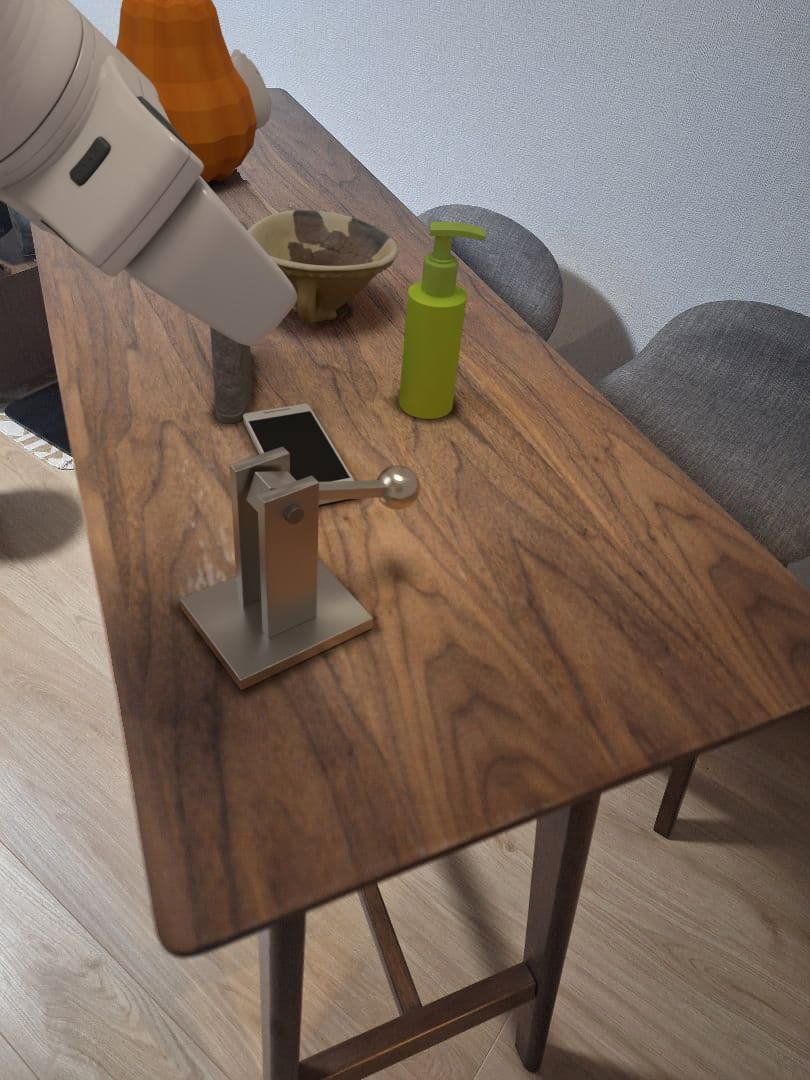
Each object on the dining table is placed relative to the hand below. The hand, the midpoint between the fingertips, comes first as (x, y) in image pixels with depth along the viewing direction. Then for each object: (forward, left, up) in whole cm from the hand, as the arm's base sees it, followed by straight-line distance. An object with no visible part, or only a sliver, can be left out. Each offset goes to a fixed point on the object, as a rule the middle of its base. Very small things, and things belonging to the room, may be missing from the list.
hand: (253, 289), depth 54 cm
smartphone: (+7, +22, -29) cm, 37 cm away
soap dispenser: (+23, +29, -29) cm, 47 cm away
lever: (+6, +2, -20) cm, 21 cm away
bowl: (+16, +52, -29) cm, 62 cm away
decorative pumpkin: (+4, +99, -29) cm, 103 cm away
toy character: (+17, +121, -29) cm, 125 cm away
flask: (+3, +36, -29) cm, 46 cm away
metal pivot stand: (+1, +1, -29) cm, 29 cm away
